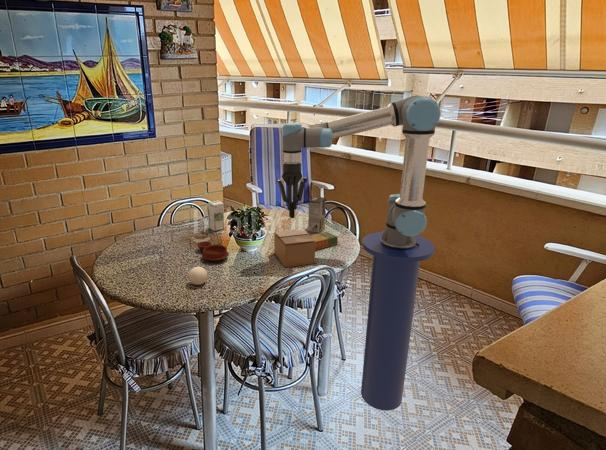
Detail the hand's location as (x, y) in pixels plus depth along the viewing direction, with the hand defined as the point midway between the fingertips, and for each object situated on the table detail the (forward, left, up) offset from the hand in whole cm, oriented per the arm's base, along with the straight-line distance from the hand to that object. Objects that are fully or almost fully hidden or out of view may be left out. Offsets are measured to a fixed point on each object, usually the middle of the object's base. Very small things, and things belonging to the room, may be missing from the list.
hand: (291, 217), depth 174 cm
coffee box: (+1, -35, -18) cm, 39 cm away
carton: (-7, -15, -18) cm, 24 cm away
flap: (0, 0, -7) cm, 7 cm away
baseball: (+22, +40, -18) cm, 49 cm away
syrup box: (+48, -14, -18) cm, 53 cm away
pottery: (+32, +16, -18) cm, 40 cm away
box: (-2, +3, -17) cm, 18 cm away
